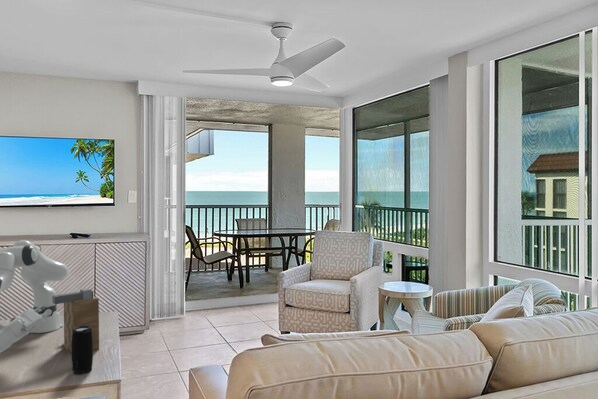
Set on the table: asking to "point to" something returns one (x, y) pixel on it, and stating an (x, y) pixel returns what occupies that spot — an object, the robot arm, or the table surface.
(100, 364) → the table surface
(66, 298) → the dark grey square bar
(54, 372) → the table surface
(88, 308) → the panel block
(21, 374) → the table surface
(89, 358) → the portable speaker
